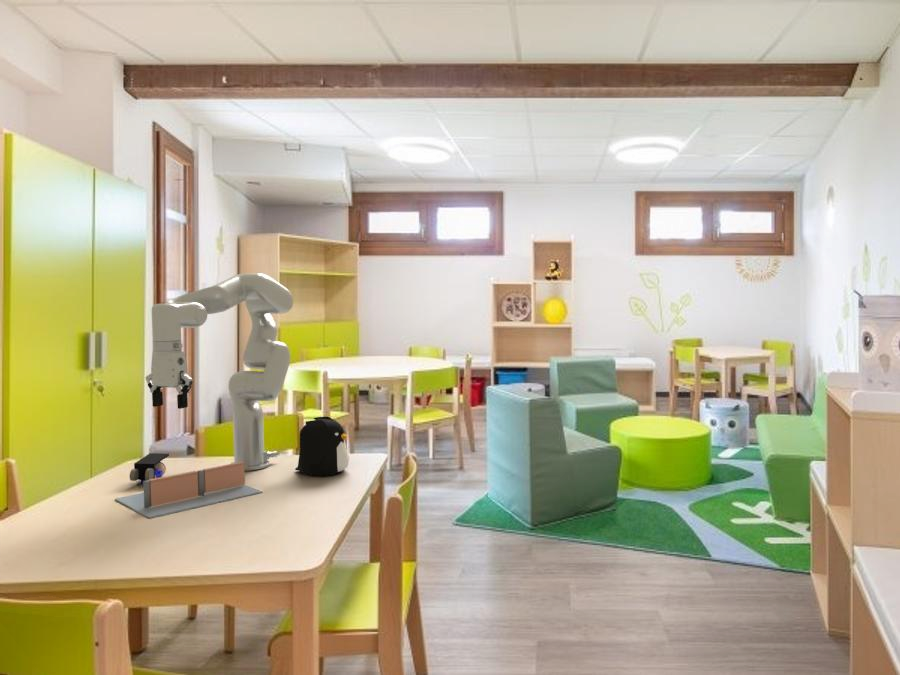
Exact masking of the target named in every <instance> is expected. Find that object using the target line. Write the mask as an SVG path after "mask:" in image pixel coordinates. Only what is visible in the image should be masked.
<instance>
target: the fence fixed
mask: <svg viewBox="0 0 900 675" xmlns="http://www.w3.org/2000/svg"><path fill="white" fill-rule="evenodd" d="M142 484H143V485H142V486H143V488H142V489H143V493H144V508H148V507H151V506H156V505H161V504H165V503H170V502H174V501H179V500H184V499H188V498H193V497H197V496H204V477H203V469H200V470H192V471H187V472H182V473H177V474H172V475H171V474H170V475H166V476H161V477H158V478H155V479H149V480H146V481H143V483H142Z"/></svg>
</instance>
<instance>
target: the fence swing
mask: <svg viewBox="0 0 900 675" xmlns="http://www.w3.org/2000/svg"><path fill="white" fill-rule="evenodd" d="M202 470H203V477H204V493H209V492H214V491H219V490H223V489H228V488H232V487H237V486H242V485H246V480H245V471H244V462H238V463H233V464H231V463H229V464H223V465H218V466H213V467H209V468H203V469H202Z"/></svg>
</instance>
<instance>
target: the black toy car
mask: <svg viewBox="0 0 900 675" xmlns="http://www.w3.org/2000/svg"><path fill="white" fill-rule="evenodd" d="M169 456H170V453H159V452H158V453H155V452H150V453H148V454H146V455H145V456H144V457H142V458H140V459H139V460H137V461H136V462H134V463H133V468H132V469H131V470H130V471H129V480H130V481H132V482H137V481H138V480H139V483H137V486H138V487H140V486H142V484H143V481H146V480H149V479H155V478H160V477H163V476H164V474H165V473H166V470H167V468H166V465H165V463H163V462H162V461H163V460H165V459H167V458H168V457H169Z"/></svg>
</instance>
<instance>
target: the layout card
mask: <svg viewBox="0 0 900 675" xmlns="http://www.w3.org/2000/svg"><path fill="white" fill-rule="evenodd" d="M262 493H263V491H262V490H260V489H258V488H255V487H252V486H249V485H246V484H245V485H242V486H237V487H232V488H228V489H223V490H219V491H214V492H209V493H204V496H197V497H193V498H188V499H184V500H179V501H174V502H170V503H165V504H161V505H156V506H151V507H148V508H144V492H141V493H135V494H131V495H126V496H125V495H124V496H121V497H116V498H114V501H116V502H118V503H120V504H122V505H123V506H125V507H127V508H129V509H131V510H133V511H135V512H136V513H138V514H141V515H142V516H144V517H146V518H148V519H152V518H153V519H155V518H157V517H161V516H165V515H166V516H167V515H171V514H175V513H179V512H184V511H188V510H192V509H193V510H194V509H197V508H200V507H206V506H209V505H215V504H220V503H224V502H227V501H233V500H236V499H240V498H246V497H249V496H254V495H258V494H262Z"/></svg>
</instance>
